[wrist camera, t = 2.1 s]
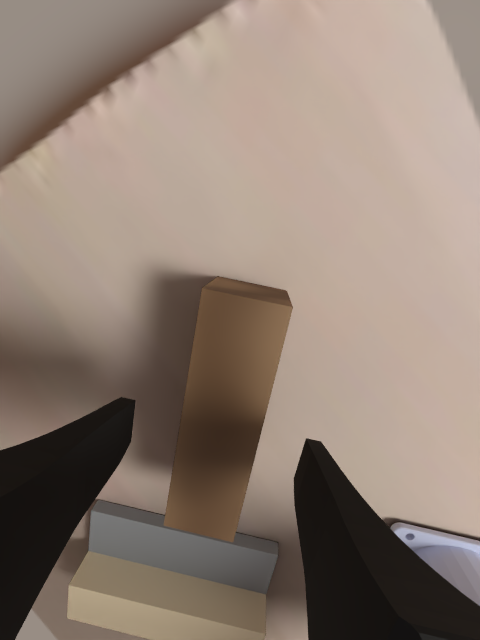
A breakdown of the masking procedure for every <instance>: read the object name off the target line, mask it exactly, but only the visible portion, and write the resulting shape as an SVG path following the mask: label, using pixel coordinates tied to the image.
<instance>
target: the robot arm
mask: <svg viewBox="0 0 480 640" xmlns="http://www.w3.org/2000/svg"><path fill="white" fill-rule="evenodd" d="M134 409H135V400H132V399H127V398H123V397H121V398H119V399H117V400H115V401H113V402H111V403H109V404H107V405H105V406H103V407H101V408H99V409H98V410H96V411H94V412H92V413H90V414H88V415H86V416H84V417H82V418H80V419H78V420H76V421H74V422H72V423H70V424H67V425H65V426H63V427H61V428H59V429H57V430H54V431H52V432H50V433H48V434H45V435H43V436H40V437H38V438H35V439H32V440H30V441H27V442H24V443H22V444H19V445H16V446H13V447H10V448H7V449H3V450H0V640H15V638H16V636H17V634H18V632H19V630H20V629H21V627H22V625H23V623H24V621H25V619H26V617H27V615H28V613H29V611H30V610H31V608H32V606H33V604H34V602H35V600H36V598H37V596H38V594H39V593H40V591H41V589H42V587H43V585H44V583H45V582H46V580H47V578H48V576H49V574H50V572H51V571H52V569H53V567H54V565H55V563H56V562H57V560H58V558H59V556H60V554H61V553H62V551H63V549H64V547H65V546H66V544H67V542H68V540H69V539H70V537H71V535H72V533H73V532H74V530H75V528H76V527H77V525H78V524H79V522H80V520H81V519H82V517H83V516H84V514H85V513H86V511H87V510H88V509H89V507H90V506H91V504H92V503H93V501H94V500H95V498H96V497H97V496H98V494H99V493H100V491H101V490H102V488H103V487H104V485H105V484H106V483H107V481H108V480H109V478H110V477H111V475H112V474H113V472H114V471H115V469H116V468H117V466H118V465H119V463H120V461H121V460H122V458H123V456H124V454H125V452H126V450H127V448H128V446H129V444H130V442H131V437H132V427H133V418H134ZM294 501H295V511H296V518H297V525H298V532H299V539H300V546H301V552H302V559H303V566H304V574H305V584H306V600H307V617H308V638H309V640H480V541H478V540H473V539H469V538H465V537H461V536H456V535H452V534H448V533H443V532H439V531H435V530H431V529H426V528H422V527H418V526H413V525H409V524H405V523H399V522H398V523H394V524H393V525H392V526H391V527H390V528H389V527H388V526H387V525H386V524H385V522H384V521H383V520H382V519H381V518H380V517H379V516H378V515H377V514H376V513H375V512H374V511H373V509H372V508H371V507H370V506H369V505H368V504H367V502H366V501H365V500H364V499H363V498H362V496H361V495H360V494H359V493H358V491H357V490H356V489H355V488H354V486H353V485H352V484H351V482H350V481H349V480H348V479H347V477H346V476H345V475H344V473H343V472H342V470H341V469H340V468H339V466H338V465H337V463H336V462H335V461H334V459H333V458H332V456H331V455H330V454H329V452H328V451H327V449H326V448H325V446H324V445H323V444H322V442H320V441H316V440H311V439H307V438H306V441H305V444H304V447H303V450H302V454H301V457H300V460H299V463H298V467H297V470H296V473H295V477H294Z"/></svg>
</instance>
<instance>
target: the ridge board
mask: <svg viewBox="0 0 480 640" xmlns="http://www.w3.org/2000/svg"><path fill="white" fill-rule="evenodd" d="M164 520H165V516H164V515H160V514H156V513H152V512H148V511H143V510H139V509H135V508H131V507H127V506H122V505H118V504H114V503H110V502H106V501H102V500H98V501H97V502H96V504H95V505H94V507H93V509H92V510H91V521H90V535H89V549H88V552H87V554H86V556H85V558H84V559H83V561H82V563H81V565H80V566H79V568H78V570H77V572H76V573H75V575H74V577H73V579H72V580H71V582H70V584H69V590H68V611H67V619H71V620H75V621H79V622H83V623H87V624H91V625H95V626H99V627H103V628H107V629H111V630H115V631H118V632H122V633H126V634H130V635H134V636H138V637H142V638H146V639H150V640H264V639H265V636H266V593H267V590H268V587H269V583H270V580H271V577H272V574H273V571H274V568H275V564H276V561H277V558H278V543H277V542H273V541H269V540H265V539H261V538H256V537H252V536H248V535H244V534H240V533H235V537H234V541H233V542H229V541H225V540H221V539H217V538H213V537H208V536H204V535H200V534H196V533H192V532H188V531H184V530H180V529H176V528H172V527H167V526H164Z"/></svg>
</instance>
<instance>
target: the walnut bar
mask: <svg viewBox="0 0 480 640" xmlns="http://www.w3.org/2000/svg"><path fill="white" fill-rule="evenodd" d="M292 309H293V306H292V304H291V301H290V298H289V296H288V293H287V291H286V290H281V289H276V288H271V287H267V286H262V285H257V284H252V283H247V282H243V281H238V280H233V279H228V278H224V277H219V276H218V277H217V278H215V279H214V280H212V281H211V282H210V283H208V284H207V285H206V286H204V287H203V288H202V291H201V297H200V304H199V310H198V316H197V322H196V328H195V334H194V341H193V347H192V353H191V359H190V365H189V371H188V378H187V384H186V390H185V396H184V402H183V409H182V415H181V421H180V427H179V433H178V439H177V446H176V452H175V458H174V464H173V470H172V477H171V483H170V489H169V495H168V501H167V507H166V514H165V520H164V526H167V527H172V528H176V529H180V530H184V531H188V532H192V533H196V534H200V535H204V536H208V537H213V538H217V539H221V540H225V541H229V542H233V541H234V537H235V533H236V529H237V525H238V521H239V517H240V513H241V510H242V506H243V502H244V498H245V494H246V490H247V486H248V482H249V478H250V474H251V470H252V466H253V462H254V458H255V454H256V450H257V447H258V443H259V439H260V435H261V431H262V427H263V423H264V419H265V415H266V411H267V407H268V403H269V399H270V395H271V391H272V387H273V384H274V380H275V376H276V372H277V368H278V364H279V360H280V356H281V352H282V348H283V344H284V340H285V336H286V332H287V328H288V324H289V320H290V317H291V313H292Z"/></svg>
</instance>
